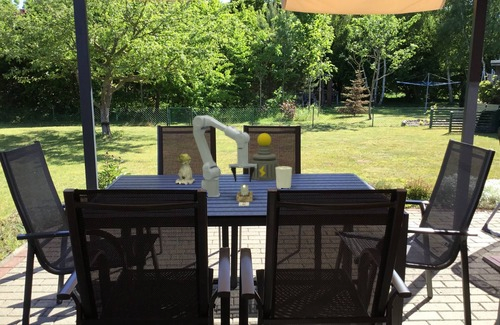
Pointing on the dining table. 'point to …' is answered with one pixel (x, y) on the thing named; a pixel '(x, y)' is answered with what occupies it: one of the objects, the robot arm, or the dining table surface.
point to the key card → (243, 203)
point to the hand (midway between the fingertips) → (242, 181)
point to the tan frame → (245, 199)
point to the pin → (244, 190)
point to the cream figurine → (185, 170)
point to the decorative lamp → (264, 160)
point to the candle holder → (283, 177)
